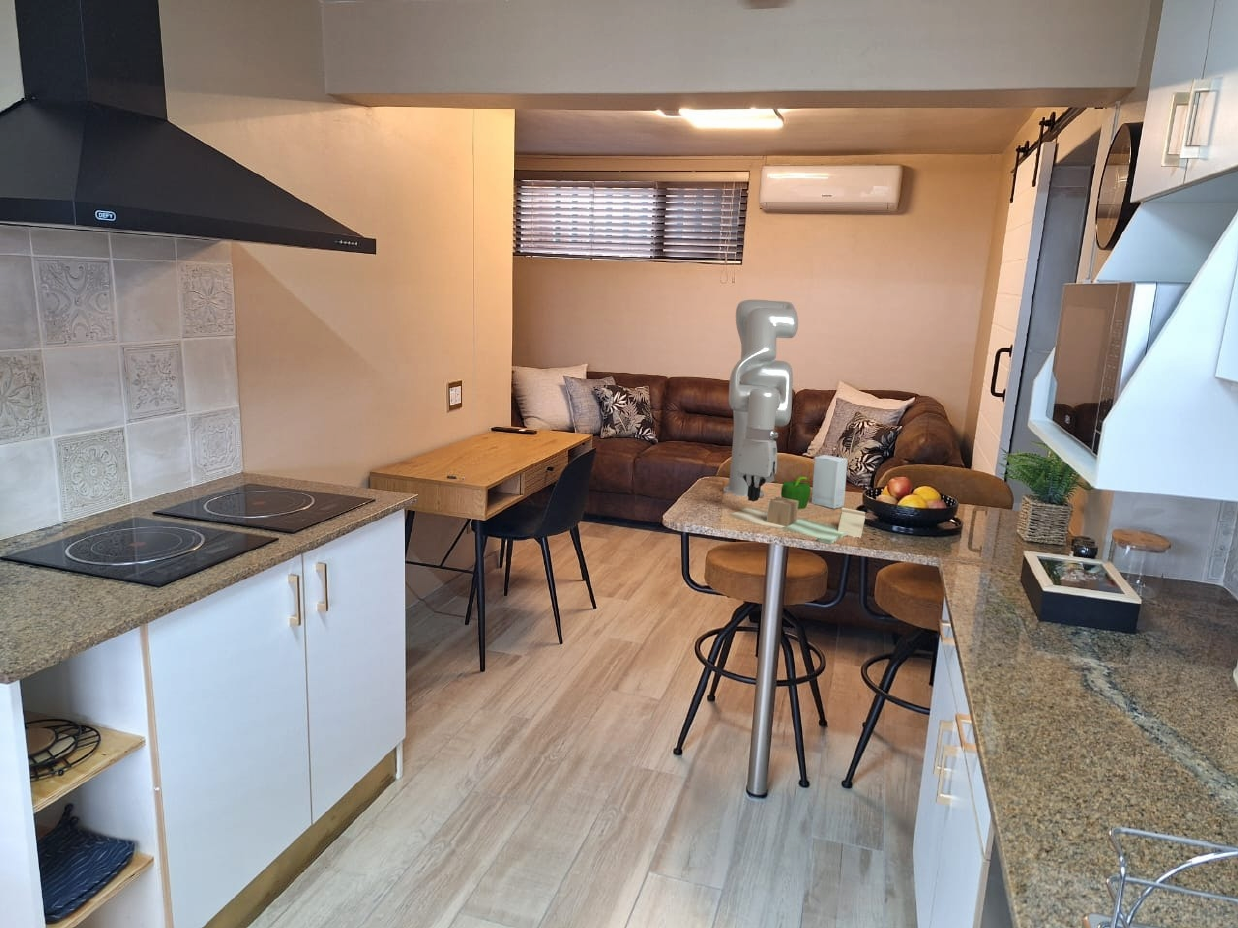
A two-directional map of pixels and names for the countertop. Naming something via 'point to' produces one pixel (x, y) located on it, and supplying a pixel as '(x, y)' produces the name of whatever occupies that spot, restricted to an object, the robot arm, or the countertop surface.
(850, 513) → the beech block
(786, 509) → the walnut block
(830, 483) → the skincare box
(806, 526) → the board
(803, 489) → the bell pepper
